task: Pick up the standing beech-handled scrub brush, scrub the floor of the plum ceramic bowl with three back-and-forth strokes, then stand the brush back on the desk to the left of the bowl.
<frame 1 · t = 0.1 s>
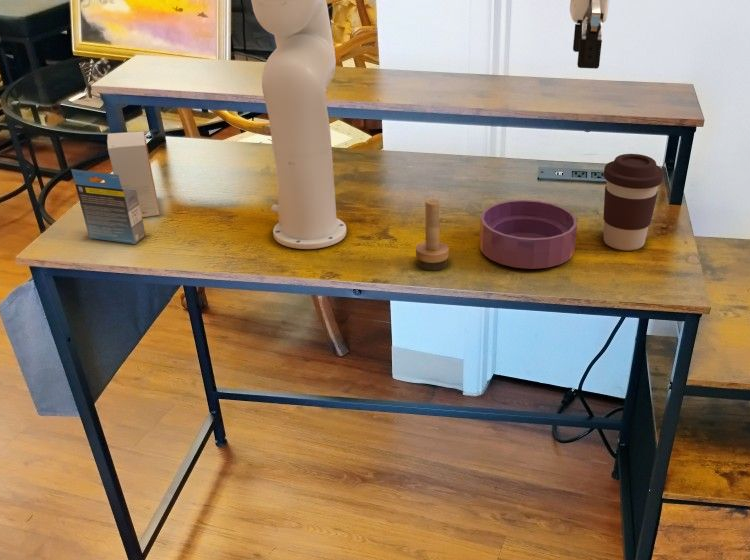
hand: (585, 59, 128), 31 cm above the table, tool pointing down, fingers open, 9 cm apart
small box: (141, 210, 153), on the table
bowl: (526, 251, 143), on the table
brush: (432, 264, 138), on the table
coffee cup: (623, 243, 148), on the table
blue retail box: (118, 238, 143), on the table
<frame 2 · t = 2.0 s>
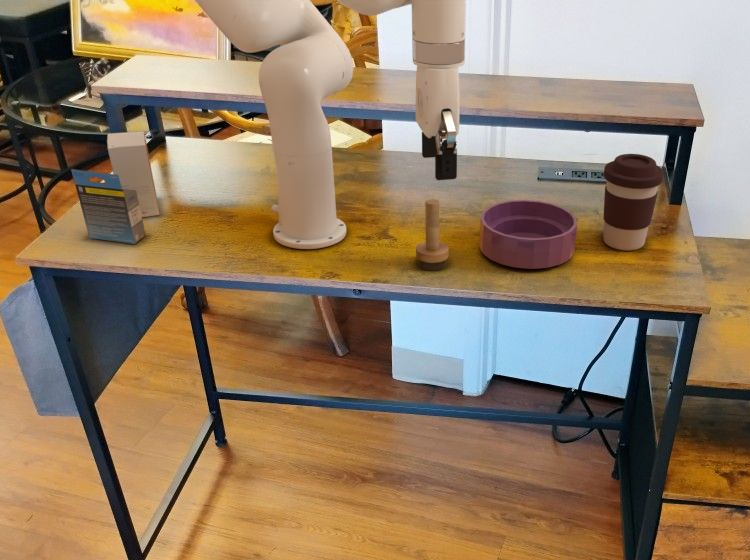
hand: (438, 167, 129), 17 cm above the table, tool pointing down, fingers open, 9 cm apart
nothing on the table moved.
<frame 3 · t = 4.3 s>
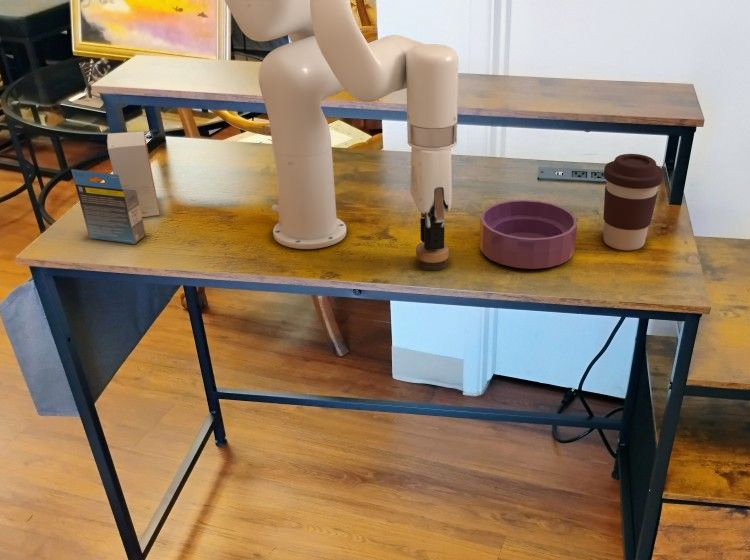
hand: (432, 243, 136), 4 cm above the table, tool pointing down, fingers closed on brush
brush: (432, 264, 138), on the table, touching gripper
everything else where it was.
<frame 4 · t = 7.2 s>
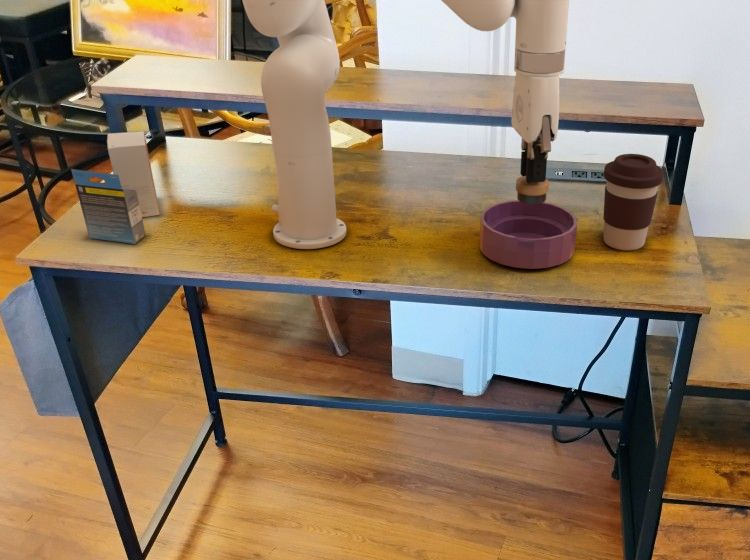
hand: (532, 177, 136), 13 cm above the table, tool pointing down, fingers closed on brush
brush: (531, 198, 138), point 10 cm above the table, touching gripper
everything else where it was.
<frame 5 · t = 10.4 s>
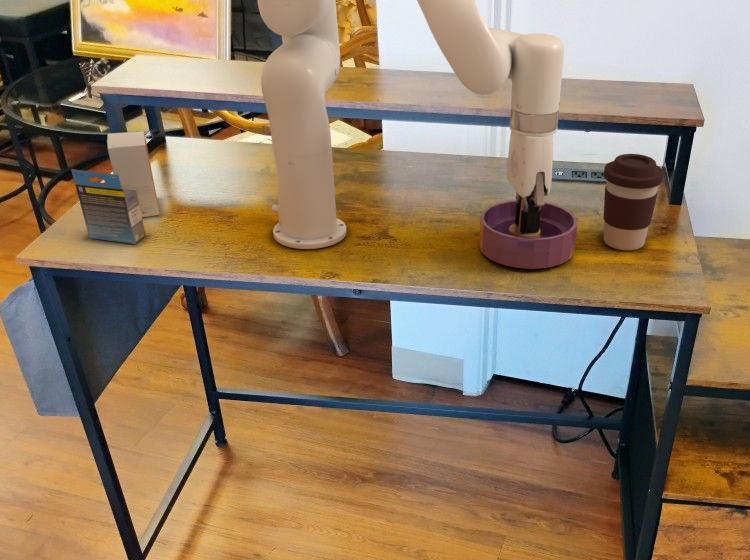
hand: (526, 227, 141), 4 cm above the table, tool pointing down, fingers closed on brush
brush: (522, 245, 143), point 1 cm above the table, touching gripper
everything else where it was.
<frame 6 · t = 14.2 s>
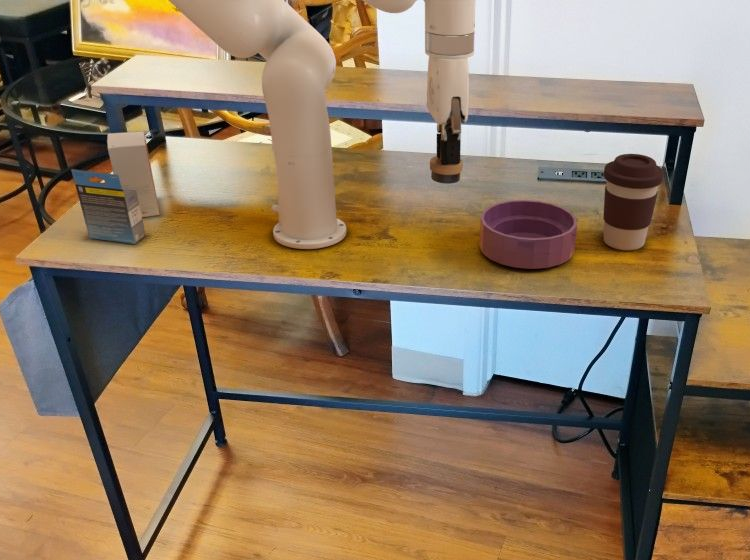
hand: (448, 159, 137), 15 cm above the table, tool pointing down, fingers closed on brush
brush: (445, 178, 139), point 11 cm above the table, touching gripper
everything else where it was.
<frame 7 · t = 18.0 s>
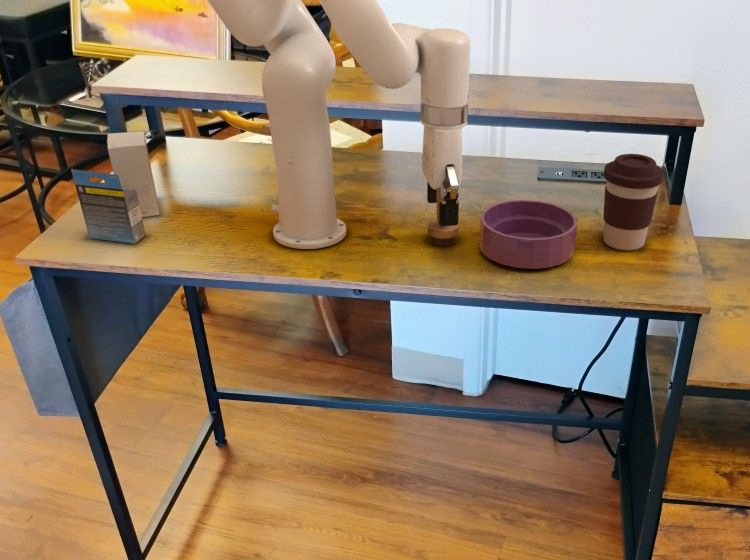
hand: (442, 213, 143), 5 cm above the table, tool pointing down, fingers open, 9 cm apart
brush: (442, 240, 146), on the table
everything else where it was.
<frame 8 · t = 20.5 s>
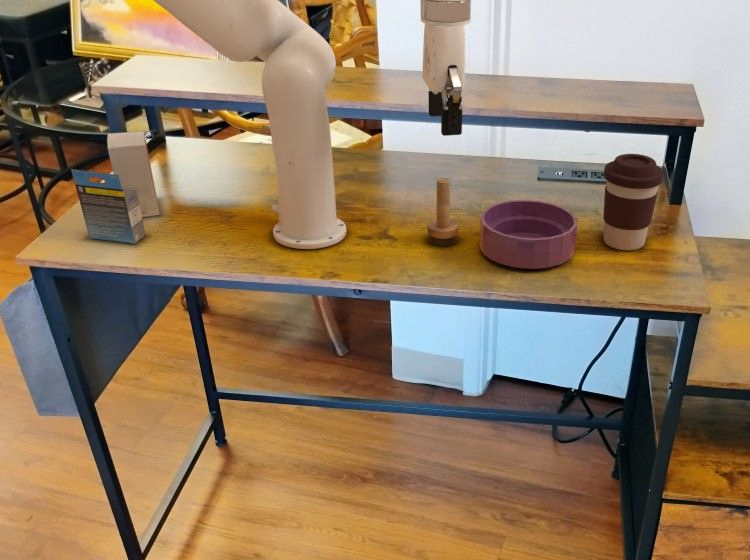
hand: (444, 124, 134), 20 cm above the table, tool pointing down, fingers open, 9 cm apart
nothing on the table moved.
at the end: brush 0.2 cm from the target spot, on the table; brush tilted 0°; the gripper is holding nothing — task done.
